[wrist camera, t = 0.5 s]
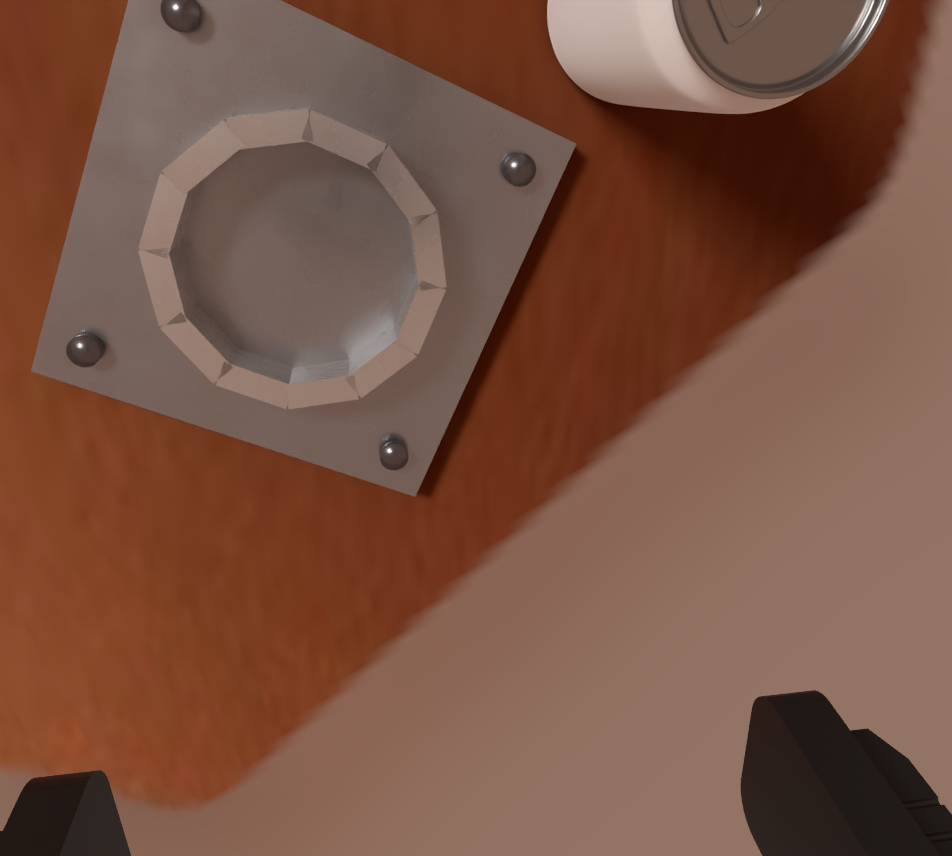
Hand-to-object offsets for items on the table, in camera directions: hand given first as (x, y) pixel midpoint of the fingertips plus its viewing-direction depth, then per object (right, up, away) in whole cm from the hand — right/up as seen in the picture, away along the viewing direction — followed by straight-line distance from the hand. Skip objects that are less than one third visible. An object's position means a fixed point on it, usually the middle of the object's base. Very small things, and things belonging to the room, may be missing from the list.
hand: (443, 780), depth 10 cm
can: (+6, +20, +20) cm, 29 cm away
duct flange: (-6, +11, +22) cm, 25 cm away
